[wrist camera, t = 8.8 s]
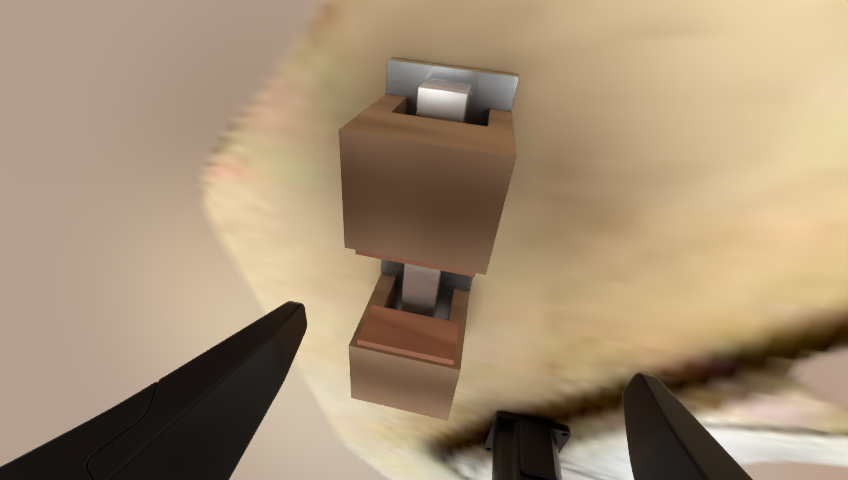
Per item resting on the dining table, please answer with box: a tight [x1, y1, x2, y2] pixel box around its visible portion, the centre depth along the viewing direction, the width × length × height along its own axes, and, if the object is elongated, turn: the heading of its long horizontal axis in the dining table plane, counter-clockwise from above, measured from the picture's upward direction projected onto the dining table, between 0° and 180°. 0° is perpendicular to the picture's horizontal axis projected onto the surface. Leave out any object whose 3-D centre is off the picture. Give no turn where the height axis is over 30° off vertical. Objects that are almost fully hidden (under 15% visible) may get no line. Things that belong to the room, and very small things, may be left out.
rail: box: [381, 58, 519, 321], centre depth 20 cm, size 18×6×3 cm, turn 175°
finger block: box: [339, 94, 516, 277], centre depth 15 cm, size 5×6×6 cm
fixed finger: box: [349, 275, 469, 420], centre depth 22 cm, size 5×6×6 cm
